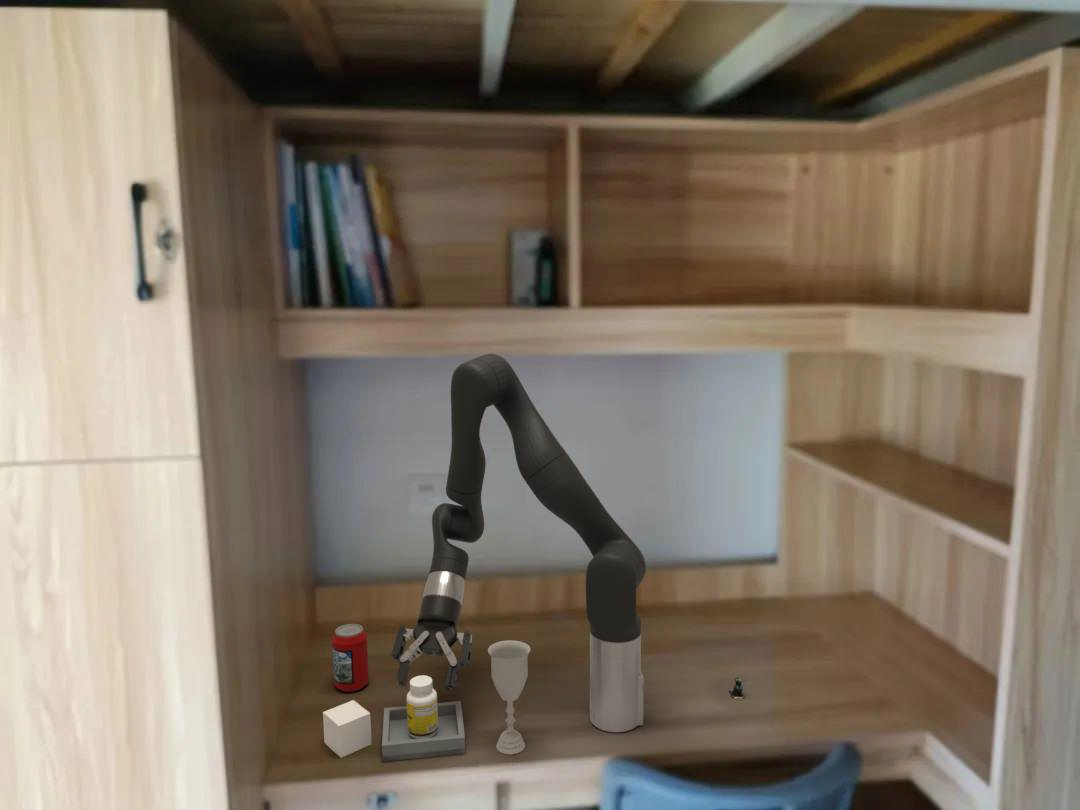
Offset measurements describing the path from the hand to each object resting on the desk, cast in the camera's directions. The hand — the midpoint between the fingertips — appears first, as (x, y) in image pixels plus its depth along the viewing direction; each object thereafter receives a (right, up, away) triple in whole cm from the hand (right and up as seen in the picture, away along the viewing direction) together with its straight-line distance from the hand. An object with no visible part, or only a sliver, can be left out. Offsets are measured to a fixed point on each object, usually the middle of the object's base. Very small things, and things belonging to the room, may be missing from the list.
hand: (424, 687), depth 142 cm
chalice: (+15, -10, -2) cm, 18 cm away
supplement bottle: (0, -8, 0) cm, 8 cm away
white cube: (-13, -10, -1) cm, 17 cm away
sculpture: (+59, -7, +14) cm, 61 cm away
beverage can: (-17, -6, +19) cm, 26 cm away
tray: (0, -9, 0) cm, 9 cm away
